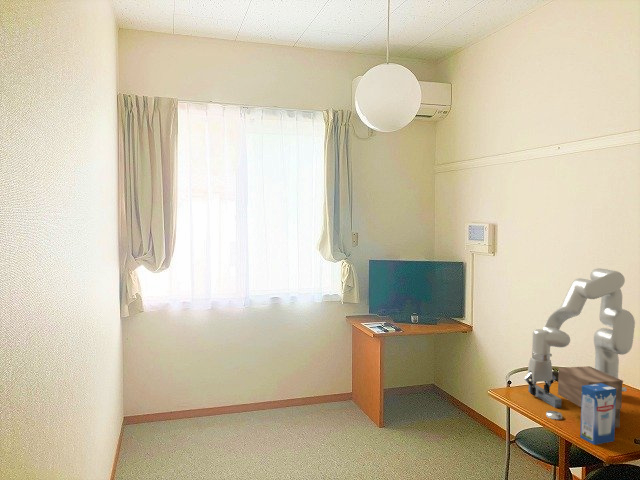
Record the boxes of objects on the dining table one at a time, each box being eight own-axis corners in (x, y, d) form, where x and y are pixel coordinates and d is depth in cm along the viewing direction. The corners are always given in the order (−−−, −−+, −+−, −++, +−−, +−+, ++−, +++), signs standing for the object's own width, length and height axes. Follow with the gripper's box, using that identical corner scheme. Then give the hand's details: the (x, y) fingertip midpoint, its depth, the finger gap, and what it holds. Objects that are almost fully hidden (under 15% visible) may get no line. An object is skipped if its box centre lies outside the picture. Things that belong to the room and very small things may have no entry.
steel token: (554, 413, 205) (554, 410, 205) (565, 419, 200) (565, 415, 199) (542, 415, 204) (543, 411, 204) (553, 421, 198) (553, 417, 198)
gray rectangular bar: (534, 391, 231) (534, 383, 231) (561, 408, 212) (561, 399, 211) (528, 392, 231) (528, 384, 231) (555, 408, 211) (555, 399, 211)
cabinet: (588, 409, 210) (589, 366, 209) (621, 427, 192) (622, 380, 191) (556, 411, 207) (558, 367, 207) (587, 429, 189) (589, 382, 188)
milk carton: (600, 433, 186) (601, 383, 185) (614, 441, 180) (616, 388, 179) (580, 437, 183) (581, 385, 182) (594, 444, 177) (595, 391, 176)
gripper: (552, 353, 229) (551, 390, 229) (519, 354, 226) (518, 392, 227) (563, 358, 221) (561, 396, 222) (528, 359, 218) (527, 398, 219)
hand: (539, 394), depth 224 cm, fingers open, 6 cm apart
